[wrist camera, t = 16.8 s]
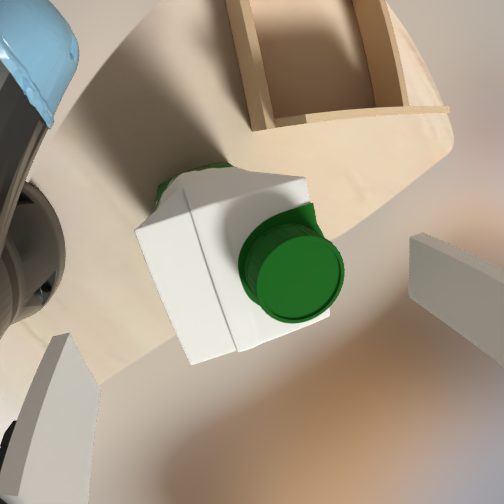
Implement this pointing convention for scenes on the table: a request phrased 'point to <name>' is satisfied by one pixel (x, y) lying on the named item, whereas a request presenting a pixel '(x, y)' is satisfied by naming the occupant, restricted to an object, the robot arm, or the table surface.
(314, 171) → the table surface
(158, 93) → the table surface
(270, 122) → the wooden tray box
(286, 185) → the soya milk
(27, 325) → the table surface
